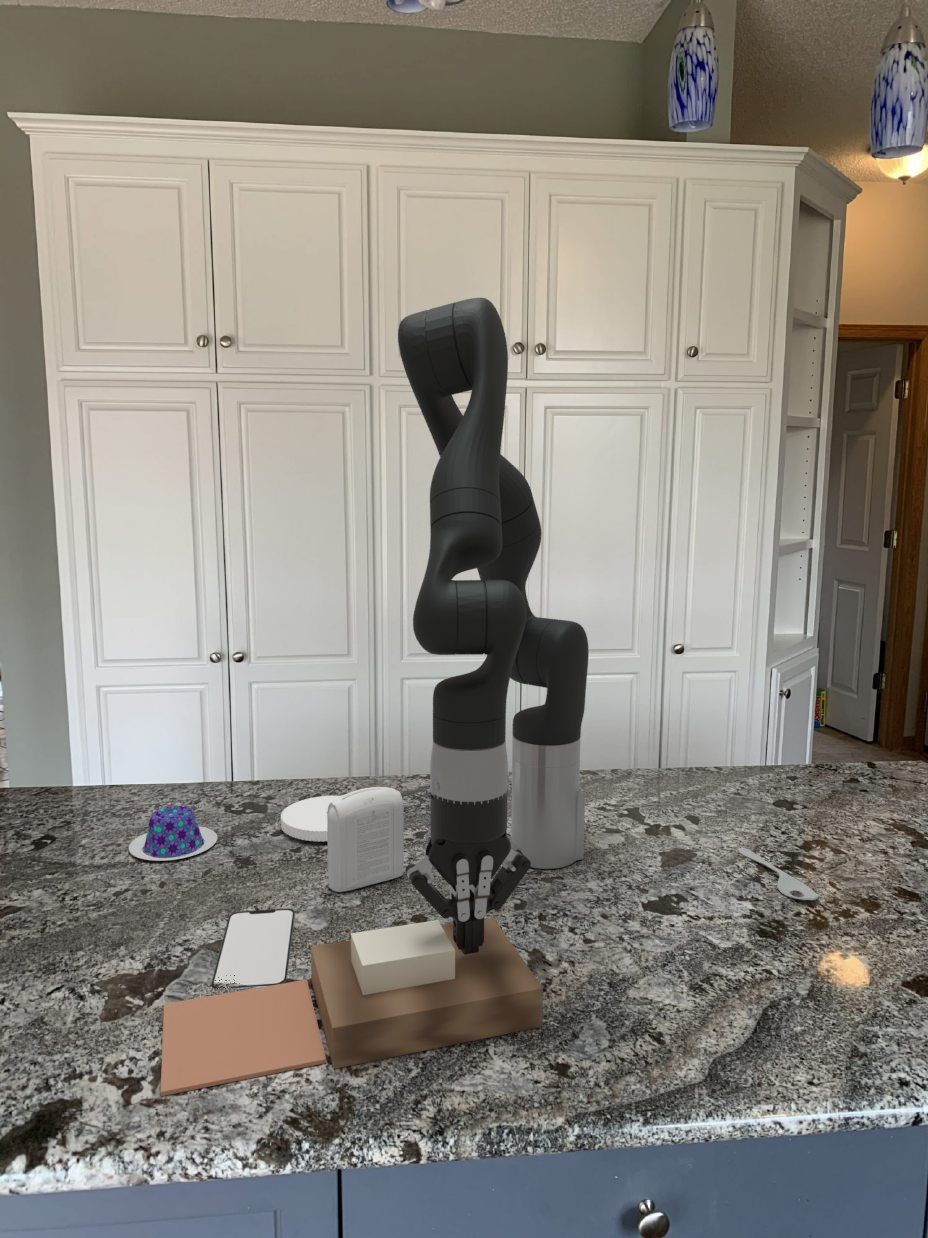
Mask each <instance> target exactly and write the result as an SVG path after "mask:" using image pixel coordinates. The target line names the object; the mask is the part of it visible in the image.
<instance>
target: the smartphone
mask: <svg viewBox="0 0 928 1238" xmlns="http://www.w3.org/2000/svg"><path fill="white" fill-rule="evenodd" d="M295 916H296V911H295V910H294V909H293V908H275V909H273V908H272V909H257V910H243V911H242V910H241V911H235V912H233V913H231V914H230V915H228V918H227V922H226V926H225V930H224V933H223V934H224V935H223V938H222V941H221V945H220V949H219V953H218V957H217V960H216V964H215V969H214V971H213V972H214V973H213V976H212V978H211V979H212V980H211V983H212V984H210V987H211V988H213V989H215V990H219V989H218V988H221V987H218V986H216V985H215V983H217V984H228V983H229V985H230V982H231V983H234V982H235V983H237V984H236V985H237V986H234V985H233V986H230V987H231V988H233V987H235V988H233V989H234V990H235V989H247V988H249V989H250V988H260V987H266V986H272V985H277V984H283V983H286V981H287V979H288V971H289V964H290V962H289V961H290V956H291V948H292V940H293V933H294V932H293V931H294V924H295ZM226 975H227V976H226ZM230 975H231V976H230ZM234 975H235V976H234ZM218 977H219V978H218ZM221 979H222V980H221ZM233 979H234V980H235V981H234V980H233ZM215 980H216V981H215ZM219 980H220V981H219ZM225 980H227V981H225ZM228 980H230V981H228ZM218 982H219V983H218ZM224 982H225V983H224ZM226 982H227V983H226ZM239 983H240V984H239ZM222 987H223V988H225V987H227V988H228V987H229V986H222ZM216 988H217V989H216ZM229 989H230V988H229ZM229 989H228V990H229ZM233 989H232V990H233ZM224 990H227V989H226V988H225V989H224ZM230 990H231V989H230Z"/></svg>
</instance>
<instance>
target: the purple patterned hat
mask: <svg viewBox="0 0 928 1238" xmlns="http://www.w3.org/2000/svg"><path fill="white" fill-rule="evenodd" d="M217 842H218V835H217V833H216V832H215V831H214V830H213V829H210V828H208V827H205V826H200V825H199V823H198V821H197V818H196V815H195V812H194V811H193V810H192V808H191V807H189V806H183V805H173V806H165V807H162V808H161V809H157V810H155V811H154V812H153V813H152V814H151V816H150V819H149V822H148V826H147V831H146V833H143V834H141V835H139V836H138V837H136V838H135V839H133V840H132V841H131V842H130V844H129V846H128V851H129V853H130V855H132V856H133V857H136V858H138V859H141V860H145V861H146V860H147V861H155V862H157V861H158V862H160V861H165V862H166V861H175V860H180V859H186V858H189V857H192V856H196V855H198V854H202V853H203V852H205V851H207V850H209V849H211V848H212V847H213V846H214V845H215V844H216V843H217ZM198 848H199V849H198ZM148 854H150V855H148Z"/></svg>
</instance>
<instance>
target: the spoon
mask: <svg viewBox="0 0 928 1238" xmlns="http://www.w3.org/2000/svg"><path fill="white" fill-rule="evenodd" d="M737 851H738V852H739V853H740V854H741V855H743V856H744V857H745V858H746V859H749V860H752V861H753V862H756V863H759V864H760V865H763V866H764V867H767V868H768V869H770V870H772V871H774V872H775V873H776V874H778V876H779V877H778V881H777V883H776V884H777V885H776V886H777V889H778V891H779V892H780V893H782V894H783V895H784V896H787V897H789V898H792V899H796V900H801V901H816V900H818V899H819V895H818V894H817V892H815V891H814V889H812V888H811V887H809V886H808V885H807V884H805V883H803V882H802V881H800V880H798V879H796V878H794V877H793V876H791V875H790V874H788V873H787V872H785V871H784V870H781V869H780V868H777V867H776V866H774V865H773V864H772V863H770V862H769V861H766V860H765V859H764V858H762V857H761V856H759V855H758V854H756V853H755V852H754V851H752V850H750V849H749V848H746V847H742V846H741V848H740V847H738V848H737ZM792 891H796V892H801V893H802V894H803V896H795V895H793V894H791V893H790V892H792Z"/></svg>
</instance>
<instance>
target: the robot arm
mask: <svg viewBox="0 0 928 1238" xmlns="http://www.w3.org/2000/svg"><path fill="white" fill-rule="evenodd" d="M397 343H398V344H397V345H398V349H399V353H400V355H399V356H400V357H401V362H402V365H403V368H404V371H405V374H406V378H407V379H408V382H409V384H410V387H411V389H412V392H413V395H414V398H415V400H416V403H417V405H418V406H419V409H420V411H421V413H422V416H423V418H424V421H425V423H426V425H427V428H428V430H429V432H430V435H431V438H432V440H433V442H434V445H435V446H436V447H435V448H436V449H437V452H438V455H439V459H438V462H437V464H436V465H435V466H436V467H435V469H434V472H433V475H432V478H431V483H430V487H429V488H430V489H429V520H430V521H429V525H430V527H429V529H430V531H429V532H430V540H429V542H430V543H429V554H428V560H427V563H426V569H425V573H424V576H423V580H422V583H421V585H420V589H419V591H418V595H417V598H416V602H415V604H414V605H415V606H414V611H413V614H412V615H413V617H412V626H413V627H412V628H413V633H414V636H415V638H416V641H417V642H418V644H419V645H420V646H421V648H422V649H423V650H425V651H426V652H427V653H429V654H431V655H436V656H439V655H440V656H442V655H443V656H445V655H446V656H448V655H449V656H453V655H454V656H456V655H460V656H462V655H468V656H469V655H486V657H485V659H484V661H483V663H482V664H481V665H480V666H479V667H478V668H477V669H475V670H473V671H470V672H468V673H463V674H459V675H455V676H451V677H448V678H444V679H442V680H441V681H439V682H437V684H436V685H435V687H434V689H433V695H432V746H431V747H432V748H431V749H432V750H431V755H430V765H429V766H430V767H429V768H430V770H429V771H430V772H429V773H430V775H429V776H430V777H429V778H430V779H429V780H430V781H429V782H430V784H429V785H430V786H429V787H430V790H429V791H430V792H429V796H430V802H429V803H430V804H429V805H430V806H429V807H430V810H429V812H430V816H429V817H430V821H429V822H430V825H429V826H430V827H429V828H430V837H429V840H428V843H427V845H426V848H425V856H424V857H422V858H421V859H420V860H419V861H418V862H417V863H416V864H414V863H409V864H408V865H407V866H406V867H405V870H404V873H405V875H406V876H407V878H408V880H409V882H410V883H411V885H412V886H413V887H414V888H415V889H416V890H417V892H418V893H419V894H420V895H421V896H423V899H424V900H426V901H427V902H428V903H429V904H430V906H431V907H432V908H433V910H435V911H436V912H437V913H438V914H439V915H440V917H442V919H446V920H447V919H449V918H452V924H453V940H454V942H455V944H456V946H457V947H458V949H459V950H461V951H462V952H463V954H464V955H466V954H472V953H478V952H479V946H482V945H483V942H484V919H486V918H485V917H486V915H487V914H488V913H489V912H491V911H493V910H494V911H499V910H501V909H502V908H503V906H504V905H505V903H506V902H507V901H508V899H509V898H510V897H511V895H512V894H513V892H514V891H515V890H516V888H517V887H518V886H519V884H520V882H521V881H522V880H523V878H524V877H525V876H526V874H527V873H528V872H529V869H531V868H534V869H542V870H543V869H545V870H549V869H550V870H551V869H552V870H553V869H561V868H564V867H568V866H570V865H572V864H574V863H575V862H576V861H580V860H584V849H585V847H584V843H585V809H586V806H585V805H586V796H585V792H584V791H582V790H581V788H580V778H581V777H580V774H581V773H580V772H581V771H580V770H581V769H580V767H581V736H582V735H581V734H582V733H581V732H582V724H583V719H584V714H585V709H586V708H585V707H586V693H587V691H586V690H587V679H588V668H589V656H590V655H589V640H588V636H587V632H586V631H585V628H584V627H583V626H582V624H580V623H578V622H576V621H572V620H565V619H556V618H550V617H549V618H546V617H539V616H538V617H537V616H536V615H535V614H534V613H533V612H532V610H531V608H530V607H531V606H530V605H529V600H528V598H527V597H528V596H527V590H526V585H527V580H528V578H529V575H530V572H531V569H532V568H533V565H534V564H535V560H536V559H537V555H538V553H539V552H538V551H539V550H540V547H541V542H542V526H541V521H540V517H539V514H538V509H537V506H536V503H535V500H534V497H533V492H532V488H531V486H530V484H529V482H528V480H527V479H526V477H525V476H524V475H523V474H522V472H521V471H520V470H519V469H518V468H517V467H516V466H514V465H513V464H512V462H510V460H508V459H507V458H506V457H505V456H504V455H503V454H501V450H502V449H501V448H502V439H503V433H504V432H503V429H504V422H505V410H506V398H507V387H508V375H509V374H508V373H509V370H508V369H509V355H508V344H507V343H508V342H507V337H506V332H505V328H504V326H503V323H502V319H501V316H500V314H499V312H498V309H497V308H496V307H495V305H494V304H493V303H492V301H490V299H488V298H485V297H473V298H472V297H471V298H467V299H463V300H460V301H459V300H458V301H456V302H451V303H446V304H444V305H441V306H437V307H432V308H430V309H425V310H422V311H419V312H415V313H412V314H409V315H406V316H405V317H404V318H403V319H401V320H400V322H399V324H398V329H397ZM470 391H471V393H470V397H469V400H468V403H467V406H466V408H465V410H464V413H462V411H461V409H460V408H459V407H458V405H457V403H456V401H455V399H454V397H453V395H458V394H461V393H466V392H470ZM474 569H476V570H477V573H478V575H479V579H466V580H465V579H463V580H460V579H459V580H457V579H456V580H454V578H455V576H457V575H458V574H461V573H463V572H467V571H470V570H471V571H472V570H474ZM510 680H513V681H514V682H516V683H520V684H522V685H527V686H528V685H529V686H534V687H539V688H540V687H541V688H546V697H545V702H544V704H541V705H537V706H532V707H528V708H524V709H521V710H519V711H518V712H517V713H515V715H514V716H513V719H512V741H511V744H512V745H511V747H512V749H511V750H512V751H511V756H512V757H511V758H512V759H511V762H512V763H511V820H510V821H511V823H510V824H511V827H510V828H511V829H510V831H511V833H510V835H511V836H510V839H509V836H508V833H507V831H508V793H509V790H508V789H509V788H508V787H509V781H510V775H509V764H508V762H509V761H508V754H507V745H506V744H507V743H506V742H507V741H506V727H507V726H506V724H507V723H506V722H507V721H506V719H507V718H506V717H507V714H506V713H507V699H508V698H507V697H508V689H509V684H510ZM433 868H434V869H435V870H436V871H437V872H438V874H439V875H440V876H441V877H442V879H443V880H444V881H445V882H446V884H447V885H448V889H449V898H447V897H445V896H444V894H442V893H441V892H440V890H438V889H437V887H435V885H434V884H433V881H434V874H433V872H432V871H433ZM498 870H499V871H498ZM495 874H496V875H495Z"/></svg>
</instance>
